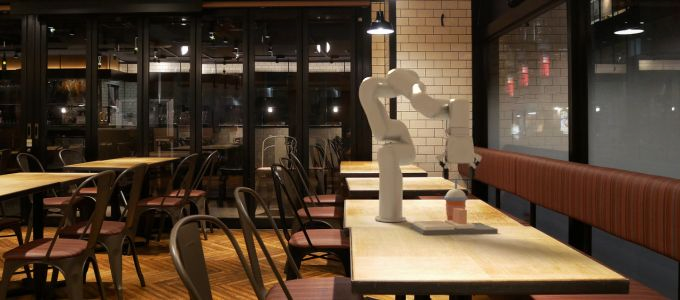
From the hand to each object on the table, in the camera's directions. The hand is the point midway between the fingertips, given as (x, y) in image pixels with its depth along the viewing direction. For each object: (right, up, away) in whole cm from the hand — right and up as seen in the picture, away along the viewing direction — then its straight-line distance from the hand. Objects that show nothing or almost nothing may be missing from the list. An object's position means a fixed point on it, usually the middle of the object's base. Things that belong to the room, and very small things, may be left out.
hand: (458, 179), depth 222 cm
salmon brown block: (0, -17, +1) cm, 17 cm away
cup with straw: (+2, -19, +20) cm, 27 cm away
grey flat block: (-2, -19, 0) cm, 19 cm away
